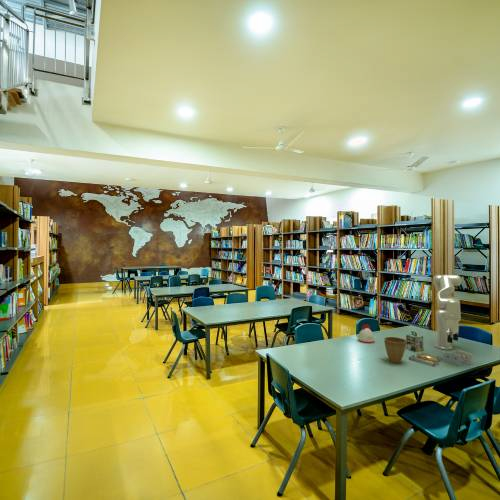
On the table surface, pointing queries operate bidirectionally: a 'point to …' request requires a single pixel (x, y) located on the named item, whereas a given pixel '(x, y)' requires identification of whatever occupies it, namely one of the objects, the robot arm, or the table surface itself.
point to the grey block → (452, 358)
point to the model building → (414, 342)
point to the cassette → (467, 357)
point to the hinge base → (426, 359)
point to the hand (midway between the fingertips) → (452, 341)
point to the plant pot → (395, 348)
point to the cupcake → (366, 335)
